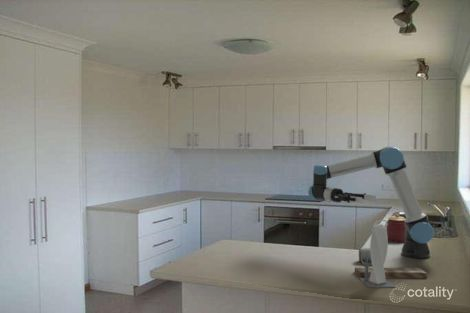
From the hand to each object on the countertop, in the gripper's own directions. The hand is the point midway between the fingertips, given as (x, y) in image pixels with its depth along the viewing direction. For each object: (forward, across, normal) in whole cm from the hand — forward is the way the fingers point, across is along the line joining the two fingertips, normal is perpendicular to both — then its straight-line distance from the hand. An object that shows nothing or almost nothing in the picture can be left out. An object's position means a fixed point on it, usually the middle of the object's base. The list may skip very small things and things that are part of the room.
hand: (368, 199), depth 234 cm
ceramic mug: (-1, -3, -34) cm, 34 cm away
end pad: (+19, +24, -34) cm, 46 cm away
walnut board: (+17, +8, -34) cm, 39 cm away
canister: (-19, -69, -34) cm, 79 cm away
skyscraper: (+19, +24, -34) cm, 46 cm away
